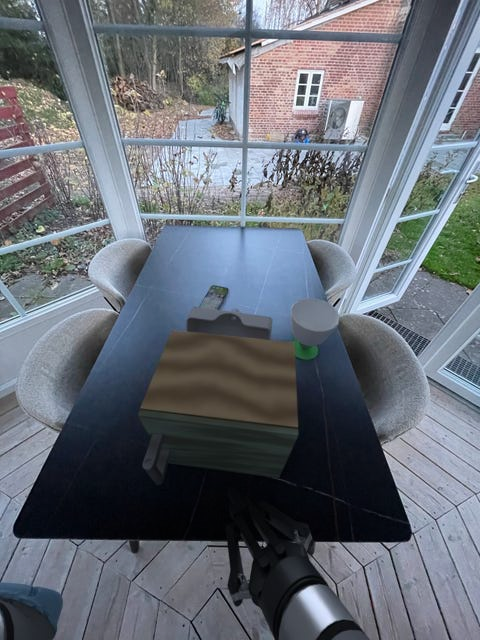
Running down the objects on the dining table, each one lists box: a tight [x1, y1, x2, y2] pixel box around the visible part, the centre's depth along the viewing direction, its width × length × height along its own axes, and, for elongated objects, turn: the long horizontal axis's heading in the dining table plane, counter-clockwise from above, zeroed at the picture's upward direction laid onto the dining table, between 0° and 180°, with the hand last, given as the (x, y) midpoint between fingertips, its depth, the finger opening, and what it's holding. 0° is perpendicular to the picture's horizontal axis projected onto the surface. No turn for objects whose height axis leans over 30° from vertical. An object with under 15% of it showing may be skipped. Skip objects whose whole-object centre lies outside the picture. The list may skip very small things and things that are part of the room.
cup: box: [290, 297, 341, 361], centre depth 80 cm, size 14×14×16 cm
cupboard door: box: [137, 409, 299, 486], centre depth 50 cm, size 7×26×24 cm, turn 84°
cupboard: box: [140, 329, 299, 430], centre depth 59 cm, size 18×26×24 cm
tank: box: [185, 306, 273, 340], centre depth 83 cm, size 25×16×12 cm, turn 80°
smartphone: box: [198, 284, 229, 310], centre depth 101 cm, size 7×1×15 cm
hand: (232, 494), depth 50 cm, fingers closed
